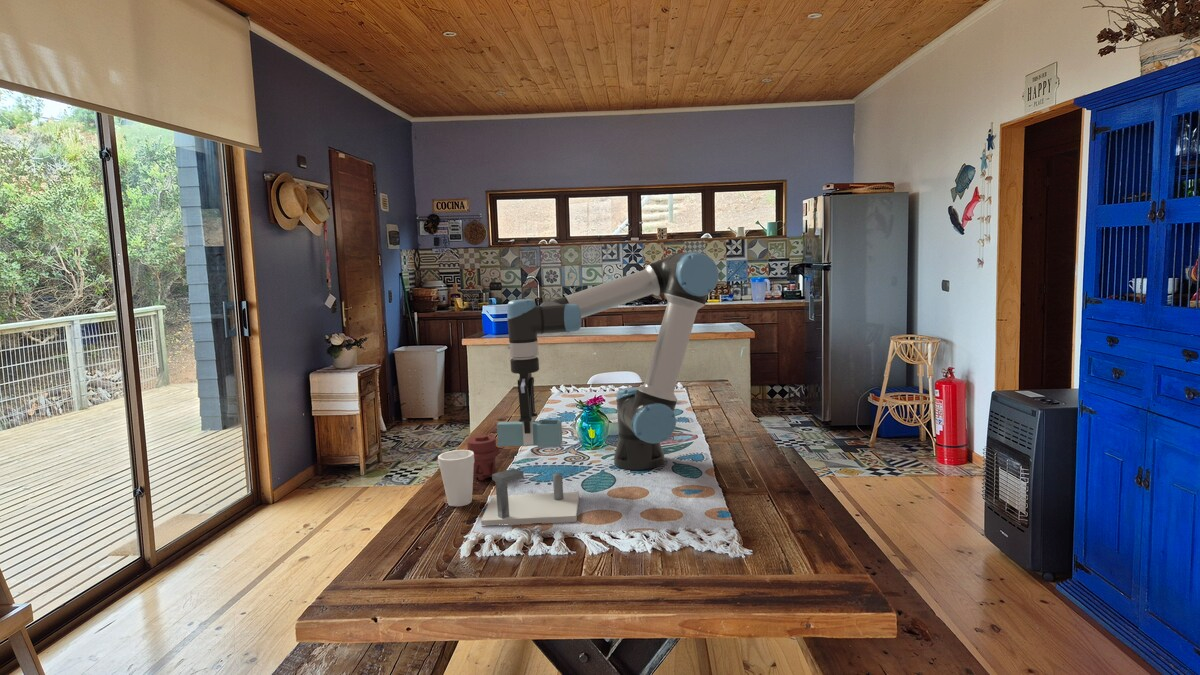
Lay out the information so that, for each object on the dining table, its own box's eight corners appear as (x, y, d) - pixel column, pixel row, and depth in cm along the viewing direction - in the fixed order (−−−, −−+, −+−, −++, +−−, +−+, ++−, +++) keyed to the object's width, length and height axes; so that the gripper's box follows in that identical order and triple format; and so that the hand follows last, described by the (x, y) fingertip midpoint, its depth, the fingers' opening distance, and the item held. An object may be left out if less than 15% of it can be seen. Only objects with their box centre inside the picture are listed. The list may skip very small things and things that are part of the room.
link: (562, 440, 200) (561, 419, 199) (560, 446, 194) (559, 424, 193) (501, 441, 201) (499, 420, 200) (496, 447, 195) (495, 425, 194)
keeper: (517, 514, 182) (513, 468, 181) (526, 518, 179) (523, 471, 177) (495, 521, 178) (491, 474, 177) (505, 526, 175) (501, 478, 173)
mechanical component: (505, 471, 218) (494, 482, 208) (474, 471, 220) (461, 482, 210) (502, 431, 216) (491, 440, 206) (471, 431, 218) (458, 440, 208)
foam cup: (447, 511, 187) (443, 462, 186) (437, 500, 195) (433, 454, 194) (482, 503, 192) (478, 455, 190) (471, 493, 200) (467, 447, 198)
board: (579, 497, 192) (577, 468, 191) (576, 521, 175) (574, 489, 174) (492, 501, 192) (490, 472, 191) (481, 526, 176) (478, 494, 175)
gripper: (515, 353, 202) (520, 435, 205) (505, 362, 186) (511, 451, 189) (542, 352, 202) (547, 434, 205) (534, 361, 186) (539, 450, 189)
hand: (529, 442), depth 197 cm, fingers closed on link, 3 cm apart
